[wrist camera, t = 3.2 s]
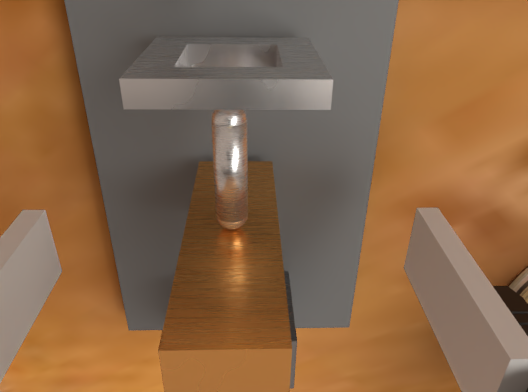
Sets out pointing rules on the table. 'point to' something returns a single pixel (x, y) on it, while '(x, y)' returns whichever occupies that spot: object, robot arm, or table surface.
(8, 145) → the table surface
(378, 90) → the board
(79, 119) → the table surface
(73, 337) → the table surface
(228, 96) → the wooden handled lever
